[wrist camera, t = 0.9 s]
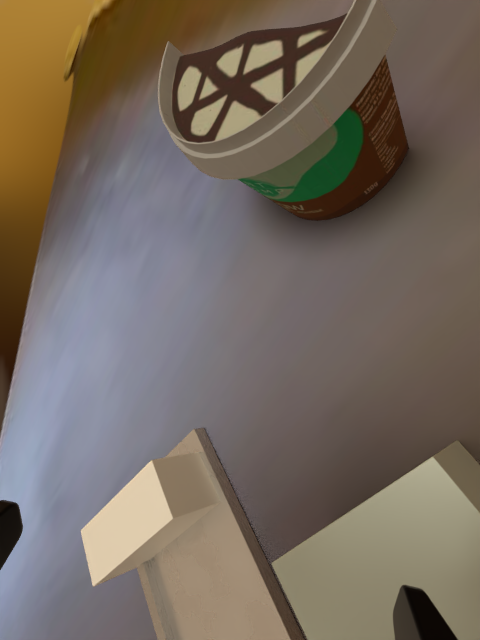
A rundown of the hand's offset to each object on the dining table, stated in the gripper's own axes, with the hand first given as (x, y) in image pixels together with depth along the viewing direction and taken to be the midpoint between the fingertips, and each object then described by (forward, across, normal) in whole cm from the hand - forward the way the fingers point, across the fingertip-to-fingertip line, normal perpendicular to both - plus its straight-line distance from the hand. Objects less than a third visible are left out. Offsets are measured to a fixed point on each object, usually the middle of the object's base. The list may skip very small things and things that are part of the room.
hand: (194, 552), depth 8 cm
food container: (+20, -2, -8) cm, 21 cm away
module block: (+8, -9, +6) cm, 14 cm away
